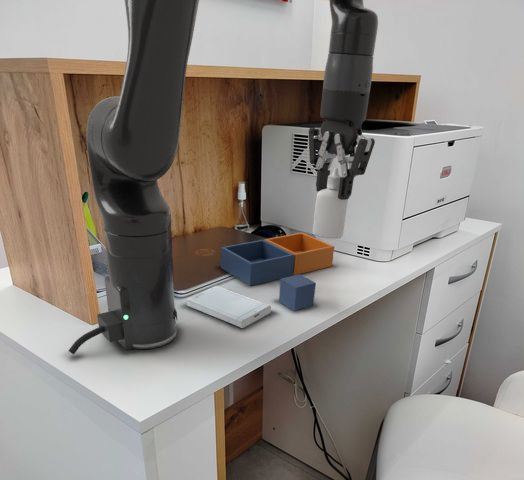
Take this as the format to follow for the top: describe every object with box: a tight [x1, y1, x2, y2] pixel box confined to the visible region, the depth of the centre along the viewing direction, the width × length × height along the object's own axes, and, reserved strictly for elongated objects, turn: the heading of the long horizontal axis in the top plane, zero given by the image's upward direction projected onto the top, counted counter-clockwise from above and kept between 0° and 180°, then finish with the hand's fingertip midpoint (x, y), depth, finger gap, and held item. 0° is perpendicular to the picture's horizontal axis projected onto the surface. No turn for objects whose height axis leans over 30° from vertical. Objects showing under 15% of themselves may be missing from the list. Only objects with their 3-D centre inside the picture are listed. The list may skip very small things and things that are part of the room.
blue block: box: [278, 274, 317, 312], centre depth 89 cm, size 4×4×4 cm
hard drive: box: [186, 285, 272, 329], centre depth 86 cm, size 2×8×12 cm
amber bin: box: [264, 231, 335, 276], centre depth 107 cm, size 11×11×4 cm
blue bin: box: [220, 239, 294, 287], centre depth 101 cm, size 11×11×4 cm
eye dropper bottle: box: [312, 167, 349, 240], centre depth 89 cm, size 4×6×12 cm
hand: (332, 194), depth 88 cm, fingers closed on eye dropper bottle, 5 cm apart
